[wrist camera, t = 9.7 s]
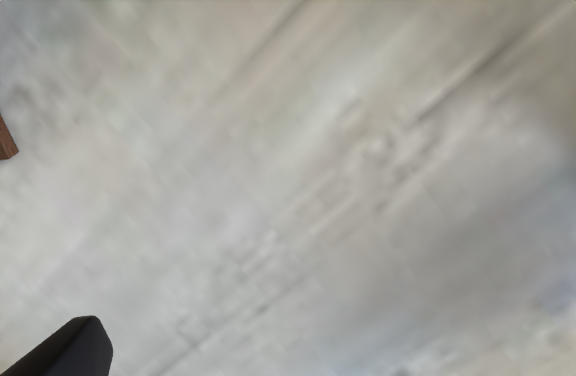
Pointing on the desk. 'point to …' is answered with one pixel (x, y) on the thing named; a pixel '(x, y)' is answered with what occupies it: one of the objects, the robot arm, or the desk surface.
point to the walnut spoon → (6, 142)
